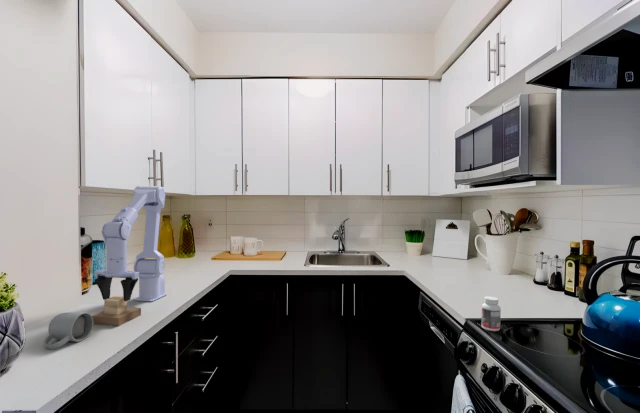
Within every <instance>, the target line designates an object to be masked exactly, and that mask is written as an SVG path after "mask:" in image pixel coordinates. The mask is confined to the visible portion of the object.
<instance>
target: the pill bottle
mask: <svg viewBox="0 0 640 413" xmlns="http://www.w3.org/2000/svg"><path fill="white" fill-rule="evenodd" d="M483 298H484V299H483V300H484V301H483V302H484V303H482V304H481V322H480V323H481V324H480V325H481V328H483V329H484V330H486V331H490V332H497V331H498V332H499V331H500V329H501V314H502V313H501V311H502V310H501V309H502V308H501V306H500V305H499V298H498V297H496V296H491V295H490V296H489V295H487V296H484V297H483Z"/></svg>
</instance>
